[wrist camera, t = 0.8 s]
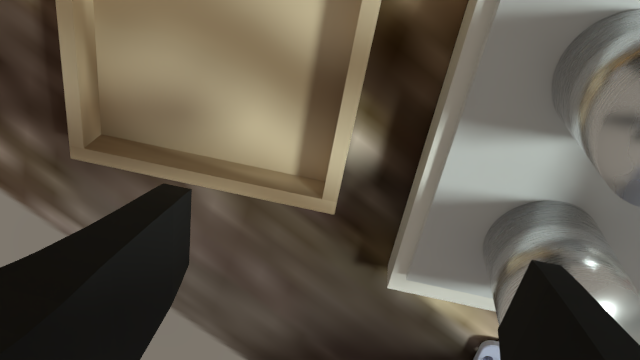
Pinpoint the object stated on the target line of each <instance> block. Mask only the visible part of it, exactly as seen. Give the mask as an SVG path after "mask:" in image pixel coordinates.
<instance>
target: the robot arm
mask: <svg viewBox="0 0 640 360" xmlns="http://www.w3.org/2000/svg"><path fill="white" fill-rule="evenodd" d="M191 190H192V189H187V188H183V187H178V186H173V185H168V184H162V185H160V186H158V187H156V188H154V189H152V190H151V191H149V192H147V193H145V194H144V195H142V196H140V197H138V198H137V199H135V200H133V201H132V202H130V203H128V204H126V205H125V206H123V207H121V208H120V209H118V210H116V211H114V212H112V213H111V214H109V215H107V216H105V217H103V218H102V219H100V220H98V221H96V222H94V223H93V224H91V225H89V226H87V227H85V228H83V229H81V230H79V231H77V232H75V233H73V234H71V235H69V236H67V237H65V238H63V239H61V240H60V241H57V242H55V243H53V244H52V245H50V246H47V247H45V248H44V249H42V250H39V251H38V252H35V253H33V254H31V255H29V256H27V257H24V258H22V259H20V260H17V261H15V262H13V263H10V264H8V265H6V266H3V267H1V268H0V360H140V359H141V357H142V355H143V353H144V352H145V350H146V348H147V346H148V345H149V343H150V341H151V340H152V338H153V336H154V335H155V333H156V331H157V329H158V328H159V326H160V324H161V323H162V321H163V319H164V317H165V316H166V314H167V312H168V310H169V309H170V307H171V305H172V303H173V301H174V299H175V296H176V294H177V292H178V289H179V287H180V285H181V282H182V280H183V277H184V275H185V272H186V270H187V268H188V265H189V248H190V219H191ZM498 336H499V342H498V341H493V340H488V341H484V342H483V343H481V345H480V346H479V348H478V350H477V353H476V355H475V357H474V359H473V360H640V345H639V344H638V343H637V342H636V341H635V340H634V339H633V338H632V337H631V336H630V335H629V334H628V333H627V332H626V331H625V330H624V329H623V328H622V327H621V326H620V325H619V323H618V322H617V321H616V320H615V319H614V318H613V317H612V316H611V315H610V314H609V313H608V312H607V311H606V310H605V309H604V308H603V307H602V306H601V305H600V304H599V303H598V302H597V301H596V300H595V298H594V297H593V296H592V295H591V294H590V293H589V292H588V291H587V290H586V289H585V288H584V287H583V286H582V285H581V284H580V283H579V282H578V281H577V280H576V279H575V278H574V277H573V276H572V275H571V274H570V273H569V272H568V271H567V270H565V269H564V268H563V267H562V266H561V265H556V264H551V263H546V262H541V261H536V260H531V262H530V264H529V266H528V268H527V270H526V272H525V274H524V276H523V278H522V280H521V282H520V285H519V287H518V289H517V291H516V293H515V295H514V297H513V299H512V301H511V303H510V305H509V307H508V309H507V311H506V314H505V316H504V318H503V320H502V322H501V324H500V326H499V328H498ZM485 356H489V357H485Z"/></svg>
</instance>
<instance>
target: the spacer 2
mask: <svg viewBox="0 0 640 360" xmlns="http://www.w3.org/2000/svg"><path fill="white" fill-rule="evenodd" d="M483 259H484V263H485V267H486V271H487V276H488V280H489V284H490V288H491V293H492V297H493V301H494V305H495V310H496V314H497V318H498V322H499V326H500V324H501V322H502V320H503V318H504V316H505V314H506V311H507V309H508V307H509V305H510V303H511V301H512V299H513V297H514V295H515V293H516V291H517V289H518V287H519V285H520V282H521V280H522V278H523V276H524V274H525V272H526V270H527V268H528V266H529V264H530V262H531V260H536V261H541V262H546V263H551V264H556V265H561V266H562V267H563V268H564V269H565V270H567V271H568V272H569V273H570V274H571V275H572V276H573V277H574V278H575V279H576V280H577V281H578V282H579V283H580V284H581V285H582V286H583V287H584V288H585V289H586V290H587V291H588V292H589V293H590V294H591V295H592V296H593V297H594V298H595V300H596V301H597V302H598V303H599V304H600V305H601V306H602V307H603V308H604V309H605V310H606V311H607V312H608V313H609V314H610V315H611V316H612V317H613V318H614V319H615V320H616V321H617V322H618V323H619V325H620V326H621V327H622V328H623V329H624V330H625V331H626V332H627V333H628V334H629V335H630V336H631V337H632V338H633V339H634V340H635V341H636V342H637V343H638V344H639V345H640V295H639V293H638V291H637V290H636V288H635V286H634V285H633V283H632V281H631V280H630V278H629V276H628V275H627V273H626V271H625V270H624V268H623V266H622V265H621V263H620V261H619V260H618V258H617V256H616V255H615V253H614V251H613V250H612V248H611V246H610V245H609V243H608V241H607V240H606V238H605V236H604V235H603V233H602V231H601V230H600V228H599V226H598V225H597V223H596V222H595V220H594V219H593V218H592V217H591V216H590V215H589V214H588V213H587V212H586V211H584V210H583V209H581V208H579V207H577V206H575V205H573V204H570V203H566V202H561V201H553V200H544V201H535V202H530V203H526V204H523V205H520V206H518V207H515V208H513V209H511V210H509V211H508V212H506V213H505V214H503V215H502V216H501V217H500V218H498V219H497V220H496V221H495V222H494V223H493V225H492V226H491V227H490V229H489V230H488V232H487V234H486V236H485V239H484V242H483Z"/></svg>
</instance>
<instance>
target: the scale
mask: <svg viewBox="0 0 640 360" xmlns="http://www.w3.org/2000/svg"><path fill="white" fill-rule="evenodd" d="M635 9H640V0H469V1H468V4H467V7H466V10H465V14H464V17H463V20H462V23H461V27H460V30H459V33H458V37H457V40H456V43H455V46H454V50H453V53H452V56H451V60H450V63H449V66H448V69H447V73H446V76H445V79H444V82H443V86H442V89H441V92H440V96H439V99H438V102H437V105H436V109H435V112H434V115H433V119H432V122H431V125H430V128H429V132H428V135H427V138H426V142H425V145H424V148H423V151H422V155H421V158H420V161H419V164H418V168H417V171H416V174H415V178H414V181H413V184H412V187H411V191H410V194H409V197H408V201H407V204H406V207H405V210H404V214H403V217H402V220H401V223H400V227H399V230H398V233H397V237H396V240H395V243H394V246H393V250H392V253H391V256H390V260H389V263H388V280H387V288H389V289H394V290H399V291H403V292H408V293H412V294H417V295H422V296H426V297H431V298H436V299H440V300H445V301H449V302H454V303H459V304H463V305H468V306H472V307H477V308H482V309H486V310H491V311H495V312H496V310H495V305H494V301H493V297H492V293H491V288H490V284H489V280H488V276H487V271H486V267H485V263H484V259H483V242H484V239H485V236H486V234H487V232H488V230H489V229H490V227H491V226H492V225H493V223H494V222H495V221H496V220H497V219H498V218H500V217H501V216H502V215H503V214H505V213H506V212H508V211H509V210H511V209H513V208H515V207H518V206H520V205H523V204H526V203H530V202H535V201H544V200H553V201H561V202H566V203H570V204H573V205H575V206H577V207H579V208H581V209H583V210H584V211H586V212H587V213H588V214H589V215H590V216H591V217H592V218H593V219H594V220H595V222H596V223H597V225H598V226H599V228H600V230H601V231H602V233H603V235H604V236H605V238H606V240H607V241H608V243H609V245H610V246H611V248H612V250H613V251H614V253H615V255H616V256H617V258H618V260H619V261H620V263H621V265H622V266H623V268H624V270H625V271H626V273H627V275H628V276H629V278H630V280H631V281H632V283H633V285H634V286H635V288H636V290H637V291H638V293H639V295H640V208H639V207H637V206H635V205H632V204H630V203H628V202H626V201H625V200H623V199H621V198H620V197H619V196H618V195H617V194H615V193H614V192H613V191H612V190H611V188H610V187H609V186H608V185H607V184H606V182H605V181H604V179H603V178H602V177H601V175H600V174H599V172H598V171H597V170H596V168H595V167H594V165H593V164H592V163H591V161H590V160H589V158H588V157H587V156H586V154H585V153H584V151H583V150H582V149H581V147H580V146H579V144H578V143H577V142H576V140H575V139H574V137H573V136H572V135H571V133H570V132H569V130H568V129H567V128H566V126H565V125H564V123H563V122H562V121H561V119H560V118H559V116H558V114H557V113H556V110H555V108H554V105H553V101H552V93H551V87H552V79H553V74H554V71H555V68H556V66H557V64H558V62H559V59H560V57H561V56H562V54H563V53H564V51H565V50H566V48H567V47H568V46H569V45H570V43H571V42H572V41H573V40H574V39H575V38H576V37H577V36H578V35H579V34H580V33H582V32H583V31H584V30H585V29H587V28H588V27H589V26H591V25H593V24H594V23H596V22H597V21H599V20H601V19H603V18H605V17H608V16H610V15H613V14H616V13H619V12H623V11H627V10H635Z"/></svg>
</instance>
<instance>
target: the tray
mask: <svg viewBox="0 0 640 360" xmlns="http://www.w3.org/2000/svg"><path fill="white" fill-rule="evenodd" d="M55 1H56V12H57V22H58V32H59V43H60V53H61V63H62V74H63V84H64V94H65V105H66V115H67V125H68V136H69V146H70V157H71V159H76V160H80V161H85V162H90V163H94V164H99V165H104V166H109V167H113V168H118V169H123V170H127V171H132V172H137V173H141V174H146V175H151V176H155V177H160V178H165V179H169V180H174V181H179V182H183V183H188V184H193V185H198V186H202V187H207V188H212V189H216V190H221V191H226V192H230V193H235V194H240V195H244V196H249V197H254V198H258V199H263V200H268V201H272V202H277V203H282V204H287V205H291V206H296V207H301V208H305V209H310V210H315V211H319V212H324V213H329V214H333V215H334V213H335V209H336V204H337V199H338V195H339V190H340V186H341V181H342V177H343V172H344V168H345V163H346V159H347V154H348V150H349V145H350V140H351V136H352V131H353V127H354V122H355V118H356V113H357V109H358V104H359V100H360V95H361V90H362V86H363V81H364V77H365V72H366V68H367V63H368V59H369V54H370V50H371V45H372V41H373V36H374V31H375V27H376V22H377V18H378V13H379V9H380V4H381V0H55Z"/></svg>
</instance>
